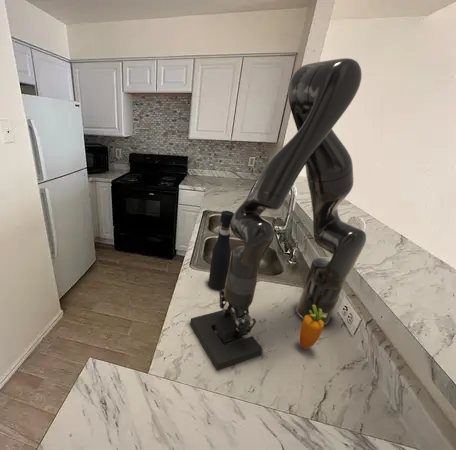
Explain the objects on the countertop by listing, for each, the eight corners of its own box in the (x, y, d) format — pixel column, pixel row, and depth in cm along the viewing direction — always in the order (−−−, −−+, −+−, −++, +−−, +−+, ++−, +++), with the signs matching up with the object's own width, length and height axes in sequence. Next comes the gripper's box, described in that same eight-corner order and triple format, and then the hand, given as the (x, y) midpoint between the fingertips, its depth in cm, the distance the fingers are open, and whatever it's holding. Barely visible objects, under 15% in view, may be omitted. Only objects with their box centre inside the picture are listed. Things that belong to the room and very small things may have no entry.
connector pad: (237, 321, 78) (239, 313, 76) (248, 334, 74) (250, 325, 72) (214, 328, 76) (216, 319, 74) (224, 342, 71) (225, 333, 70)
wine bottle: (209, 290, 94) (219, 216, 81) (207, 279, 100) (216, 208, 87) (227, 291, 94) (239, 217, 81) (223, 280, 100) (235, 209, 87)
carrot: (316, 357, 70) (333, 317, 63) (296, 354, 71) (311, 314, 64) (310, 342, 74) (325, 303, 68) (291, 339, 75) (305, 300, 68)
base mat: (228, 313, 84) (229, 308, 83) (261, 355, 70) (263, 348, 69) (190, 324, 80) (190, 318, 79) (217, 370, 66) (218, 363, 65)
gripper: (271, 299, 62) (258, 347, 69) (236, 266, 74) (228, 310, 82) (245, 306, 60) (234, 355, 67) (213, 271, 72) (207, 316, 79)
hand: (231, 330), depth 74 cm, fingers closed on connector pad, 5 cm apart
